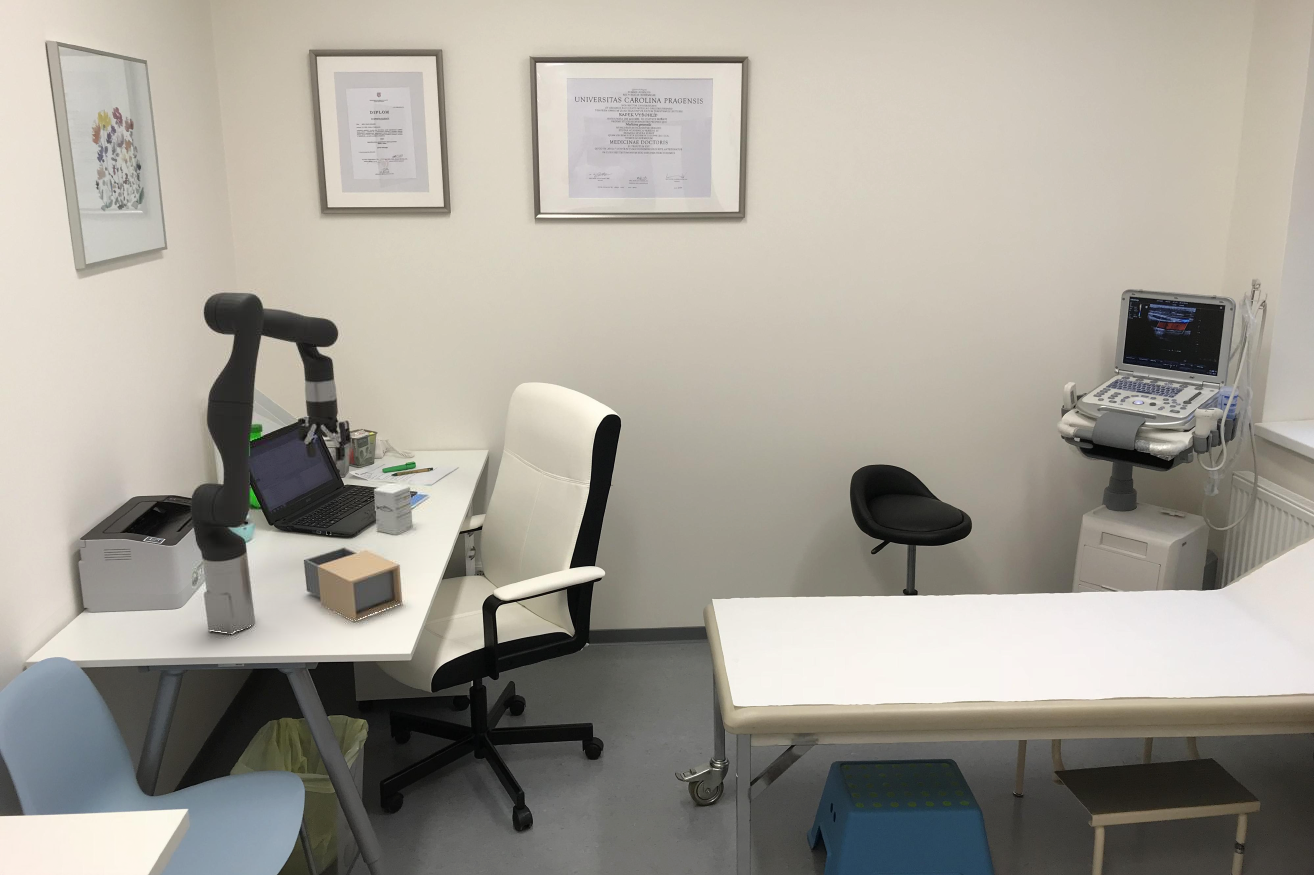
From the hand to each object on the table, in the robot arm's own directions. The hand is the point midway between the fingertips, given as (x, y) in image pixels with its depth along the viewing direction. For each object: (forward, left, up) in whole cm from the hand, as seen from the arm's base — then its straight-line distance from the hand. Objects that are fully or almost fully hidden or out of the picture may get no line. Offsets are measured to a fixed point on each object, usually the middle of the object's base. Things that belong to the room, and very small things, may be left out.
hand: (326, 458), depth 261 cm
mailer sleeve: (-25, -22, -27) cm, 43 cm away
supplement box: (+23, -5, -28) cm, 36 cm away
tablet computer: (+43, +5, -28) cm, 52 cm away
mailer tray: (-22, -18, -26) cm, 39 cm away
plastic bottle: (+33, +45, -28) cm, 63 cm away
